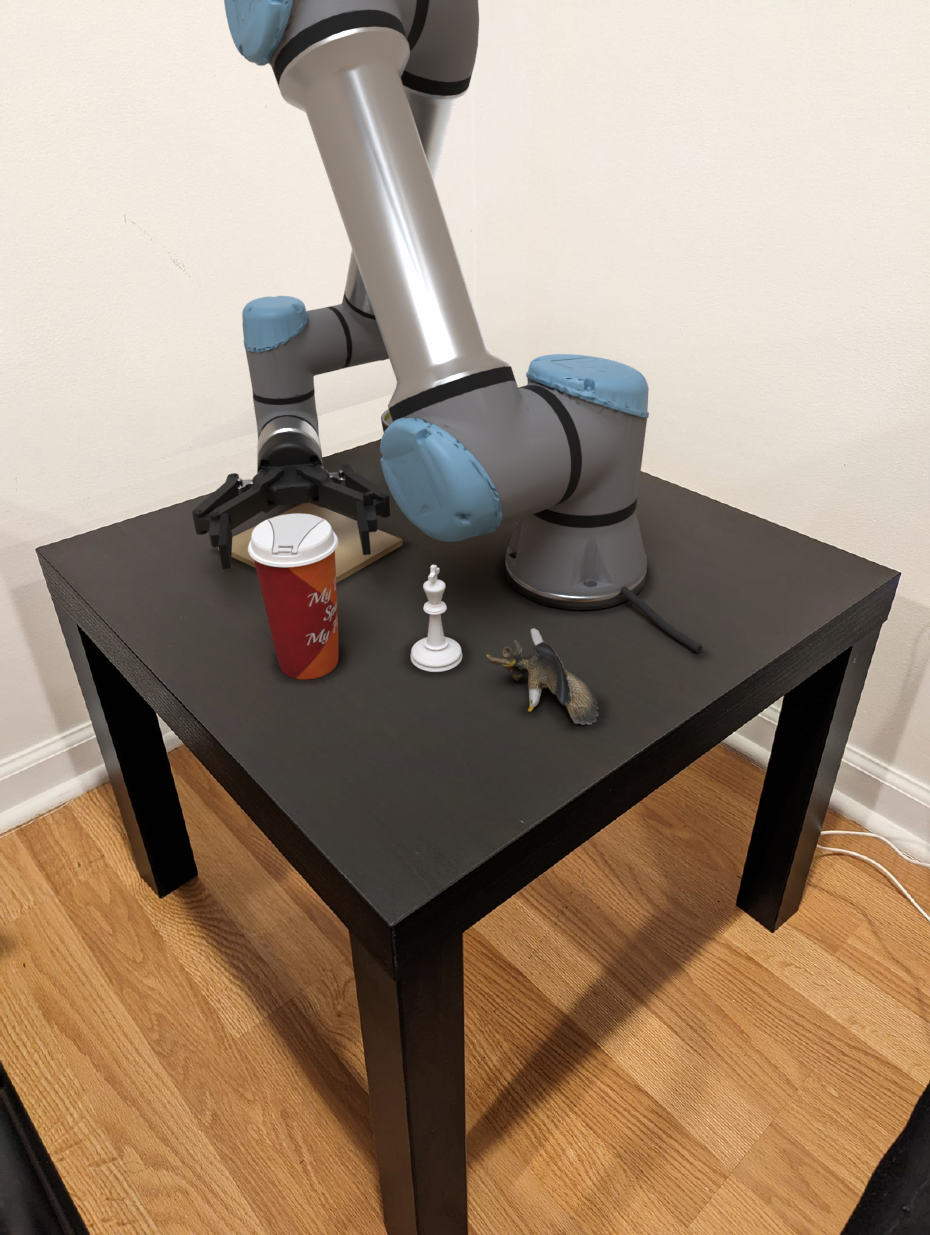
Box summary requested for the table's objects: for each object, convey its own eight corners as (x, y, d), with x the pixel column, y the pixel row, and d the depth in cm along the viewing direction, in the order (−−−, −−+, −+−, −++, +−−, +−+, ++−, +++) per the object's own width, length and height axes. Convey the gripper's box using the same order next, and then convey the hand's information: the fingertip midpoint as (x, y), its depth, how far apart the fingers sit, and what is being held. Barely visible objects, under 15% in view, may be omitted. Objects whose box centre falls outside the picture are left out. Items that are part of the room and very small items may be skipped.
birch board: (402, 545, 101) (402, 539, 100) (313, 596, 92) (312, 590, 91) (308, 506, 109) (307, 500, 108) (217, 550, 100) (216, 544, 99)
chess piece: (469, 646, 84) (468, 557, 78) (452, 676, 80) (450, 584, 74) (421, 637, 85) (417, 548, 80) (402, 666, 81) (397, 575, 76)
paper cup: (344, 687, 79) (329, 553, 71) (260, 686, 79) (236, 553, 71) (354, 637, 85) (342, 509, 78) (277, 636, 86) (257, 509, 78)
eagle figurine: (474, 700, 75) (561, 727, 70) (492, 620, 75) (580, 641, 70) (523, 703, 81) (606, 728, 76) (539, 628, 81) (624, 648, 76)
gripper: (397, 480, 106) (424, 569, 88) (186, 499, 102) (171, 596, 85) (394, 422, 101) (421, 503, 84) (173, 439, 98) (155, 528, 80)
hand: (296, 550), depth 84 cm, fingers open, 13 cm apart
